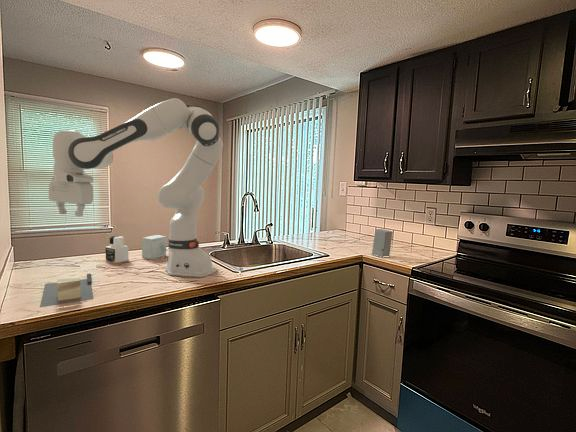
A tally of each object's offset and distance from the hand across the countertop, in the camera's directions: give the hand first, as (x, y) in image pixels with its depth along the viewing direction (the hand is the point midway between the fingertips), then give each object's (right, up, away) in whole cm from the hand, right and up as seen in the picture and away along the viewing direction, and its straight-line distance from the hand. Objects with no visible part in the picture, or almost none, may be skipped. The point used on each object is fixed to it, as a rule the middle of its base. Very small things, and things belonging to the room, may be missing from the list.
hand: (70, 215), depth 113 cm
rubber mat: (+2, -27, -4) cm, 27 cm away
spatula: (-3, -25, +15) cm, 29 cm away
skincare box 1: (+10, -22, +48) cm, 54 cm away
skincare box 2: (+134, -24, +72) cm, 154 cm away
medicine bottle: (-4, -22, +37) cm, 44 cm away
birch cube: (+6, -21, -10) cm, 24 cm away
